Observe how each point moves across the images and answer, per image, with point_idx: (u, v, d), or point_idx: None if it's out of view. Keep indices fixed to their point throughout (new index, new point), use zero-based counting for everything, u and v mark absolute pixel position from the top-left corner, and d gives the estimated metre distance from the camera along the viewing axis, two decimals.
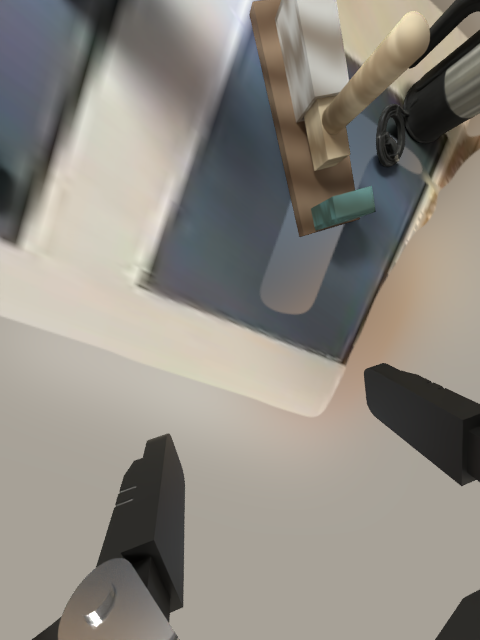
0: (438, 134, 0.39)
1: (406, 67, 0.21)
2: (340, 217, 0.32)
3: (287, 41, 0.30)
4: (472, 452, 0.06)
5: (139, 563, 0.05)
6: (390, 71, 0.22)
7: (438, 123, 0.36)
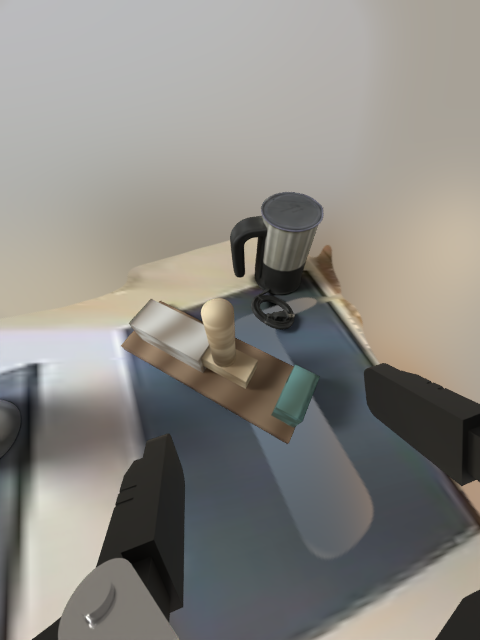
0: (299, 279, 0.45)
1: (232, 323, 0.24)
2: (299, 414, 0.28)
3: (156, 344, 0.37)
4: (473, 452, 0.06)
5: (139, 563, 0.05)
6: (225, 332, 0.24)
7: (291, 279, 0.43)
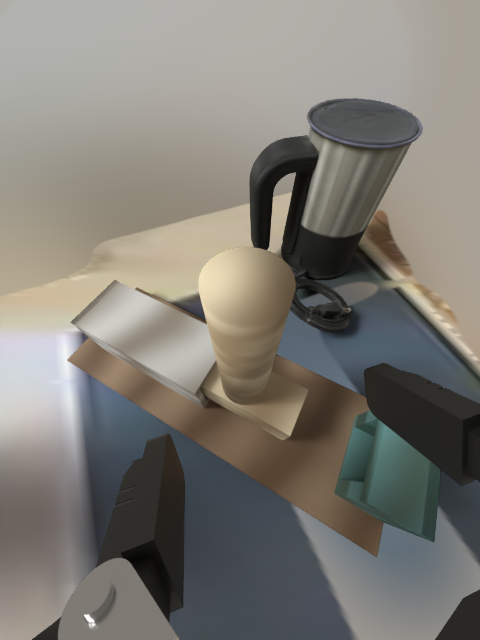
0: (352, 254, 0.29)
1: (287, 314, 0.09)
2: (424, 522, 0.13)
3: (123, 358, 0.21)
4: (472, 452, 0.06)
5: (139, 563, 0.05)
6: (266, 342, 0.09)
7: (344, 252, 0.27)
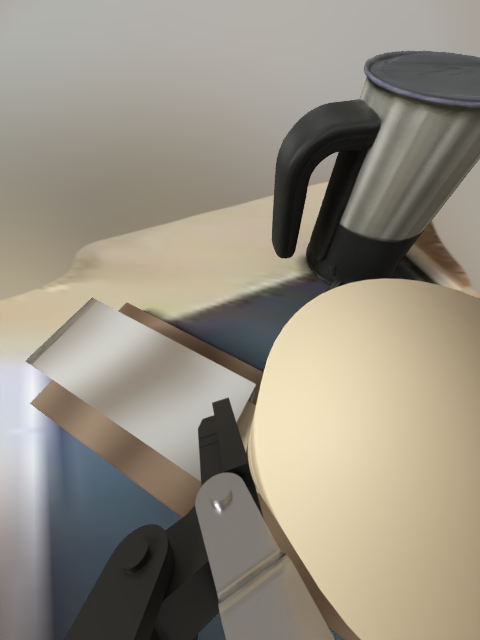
0: None
1: None
2: None
3: None
4: None
5: None
6: None
7: (394, 260, 0.21)
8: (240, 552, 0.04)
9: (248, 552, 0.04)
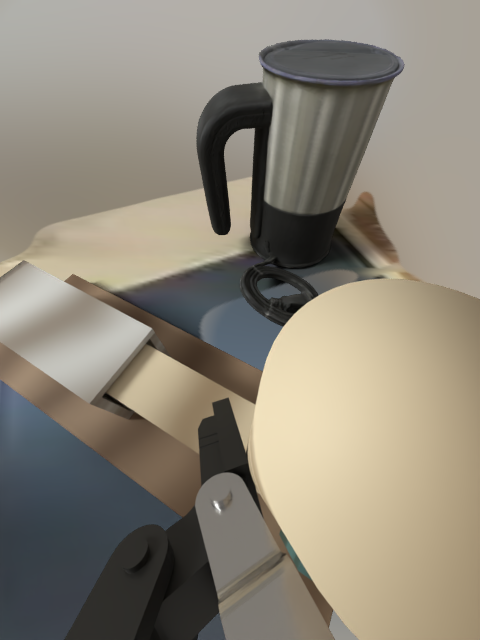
0: (329, 239, 0.25)
1: None
2: None
3: None
4: None
5: None
6: None
7: (318, 235, 0.23)
8: (240, 552, 0.04)
9: (248, 552, 0.04)
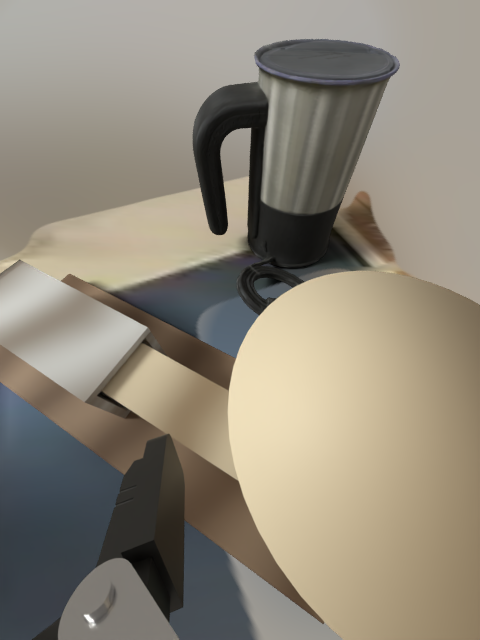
0: (326, 239, 0.25)
1: None
2: None
3: None
4: None
5: (139, 563, 0.05)
6: None
7: (315, 235, 0.23)
8: None
9: None
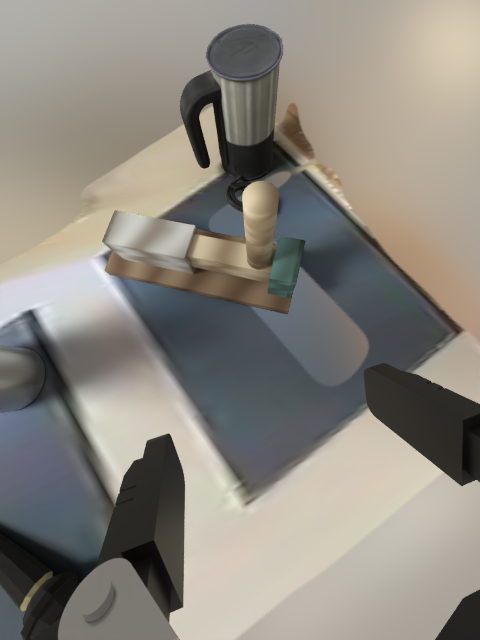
0: (271, 154, 0.40)
1: (277, 207, 0.22)
2: (292, 278, 0.30)
3: (138, 258, 0.36)
4: (472, 452, 0.06)
5: (139, 563, 0.05)
6: (271, 220, 0.22)
7: (262, 154, 0.38)
8: None
9: None
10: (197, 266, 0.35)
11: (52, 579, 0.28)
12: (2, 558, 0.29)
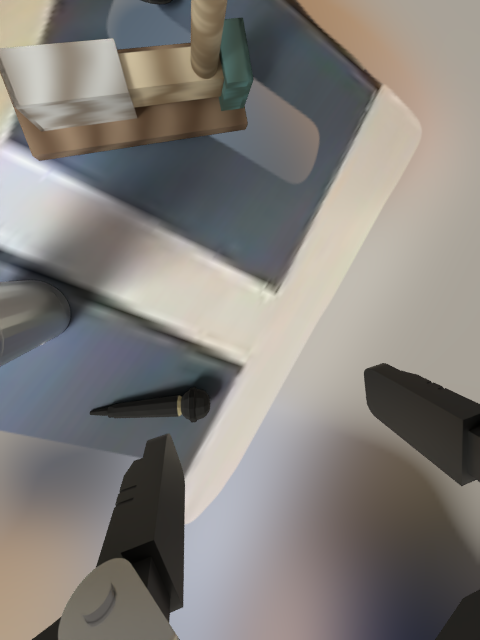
0: None
1: None
2: (248, 74, 0.29)
3: (66, 119, 0.30)
4: (473, 452, 0.06)
5: (139, 563, 0.05)
6: None
7: None
8: None
9: None
10: (139, 104, 0.31)
11: (185, 394, 0.41)
12: (143, 406, 0.40)
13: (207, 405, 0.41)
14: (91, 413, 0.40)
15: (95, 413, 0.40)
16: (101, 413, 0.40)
